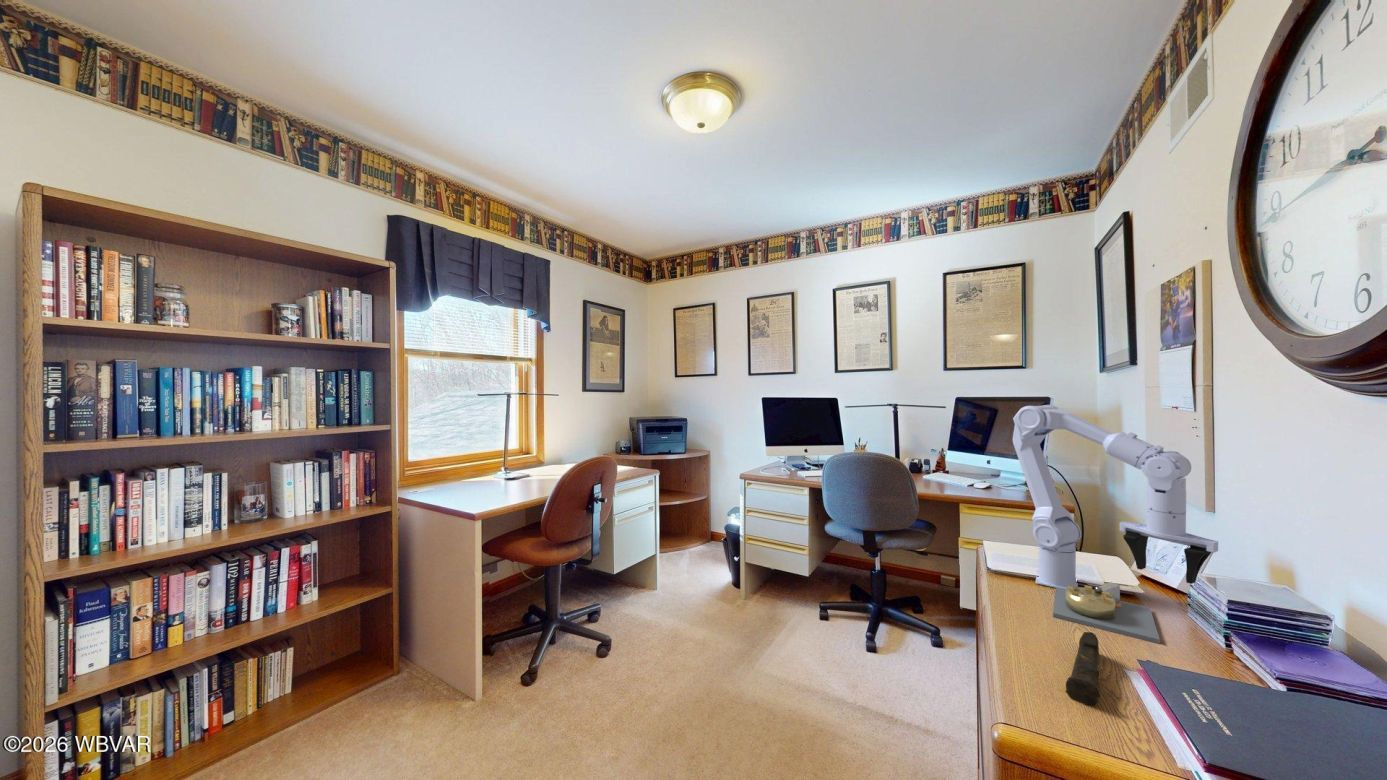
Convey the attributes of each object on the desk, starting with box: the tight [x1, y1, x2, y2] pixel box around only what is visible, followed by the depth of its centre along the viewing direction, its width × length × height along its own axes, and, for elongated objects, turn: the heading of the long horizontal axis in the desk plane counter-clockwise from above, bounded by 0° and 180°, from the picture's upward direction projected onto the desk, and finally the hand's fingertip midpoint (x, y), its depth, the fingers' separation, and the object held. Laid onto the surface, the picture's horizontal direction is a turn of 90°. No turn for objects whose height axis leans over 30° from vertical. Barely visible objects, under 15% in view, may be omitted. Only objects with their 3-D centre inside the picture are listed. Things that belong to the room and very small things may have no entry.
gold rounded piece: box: [1066, 581, 1121, 619], centre depth 100 cm, size 14×8×4 cm, turn 114°
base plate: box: [1052, 587, 1161, 644], centre depth 99 cm, size 16×16×1 cm
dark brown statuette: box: [1065, 631, 1101, 707], centre depth 78 cm, size 19×4×5 cm, turn 133°
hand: (1165, 575), depth 96 cm, fingers open, 7 cm apart
